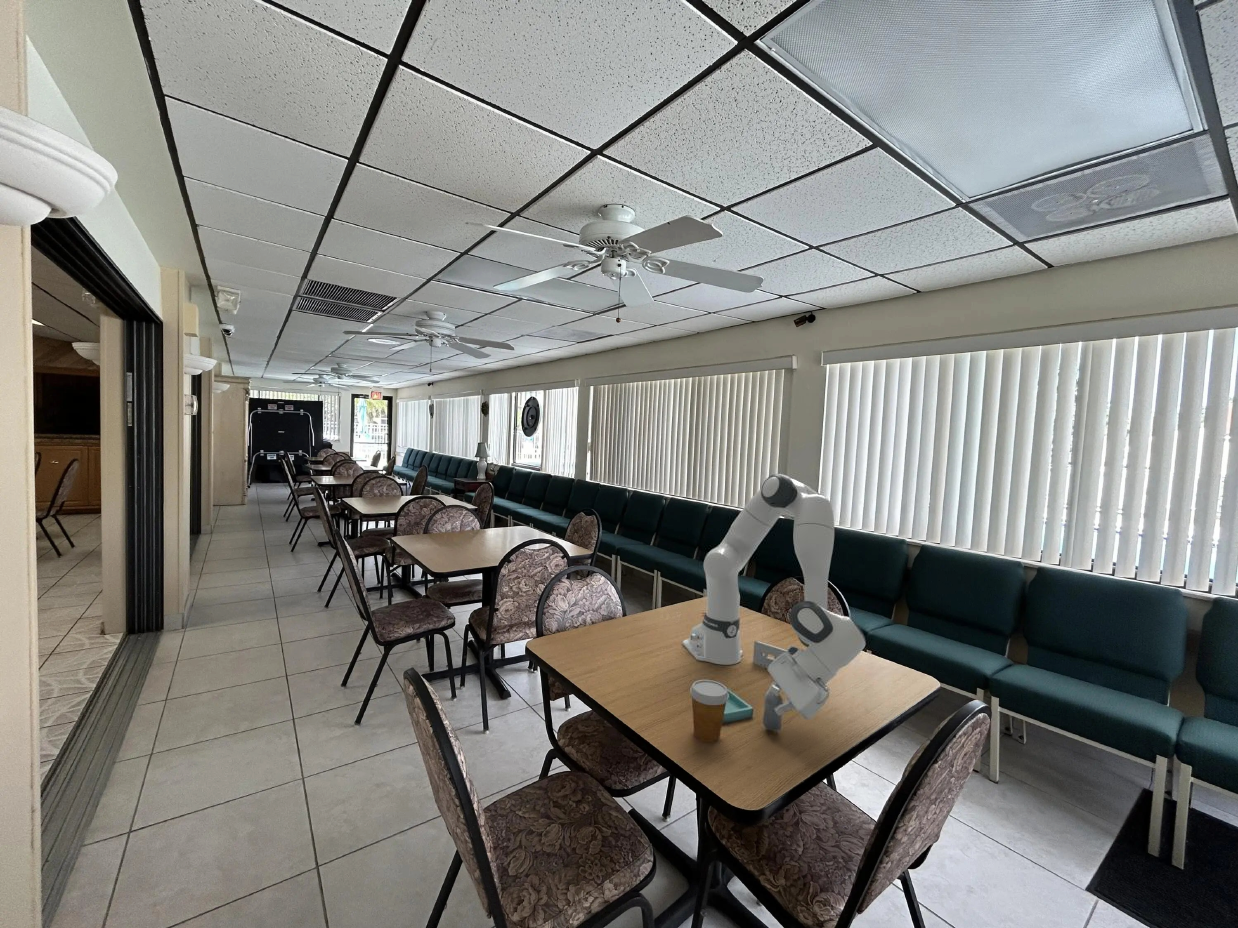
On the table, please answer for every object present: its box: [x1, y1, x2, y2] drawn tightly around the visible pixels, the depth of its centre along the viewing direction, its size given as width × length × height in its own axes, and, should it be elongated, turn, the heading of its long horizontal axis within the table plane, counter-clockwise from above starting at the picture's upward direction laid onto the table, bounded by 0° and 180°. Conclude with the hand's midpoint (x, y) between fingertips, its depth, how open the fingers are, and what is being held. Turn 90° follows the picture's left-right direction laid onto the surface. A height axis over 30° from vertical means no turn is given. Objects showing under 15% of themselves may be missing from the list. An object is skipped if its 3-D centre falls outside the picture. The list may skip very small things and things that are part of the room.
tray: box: [722, 688, 754, 724], centre depth 137 cm, size 12×10×2 cm
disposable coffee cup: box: [689, 679, 729, 743], centre depth 124 cm, size 10×10×12 cm
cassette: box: [752, 640, 788, 670], centre depth 166 cm, size 12×2×8 cm, turn 50°
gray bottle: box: [762, 685, 784, 732], centre depth 127 cm, size 4×4×10 cm
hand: (771, 705), depth 127 cm, fingers closed on gray bottle, 4 cm apart
